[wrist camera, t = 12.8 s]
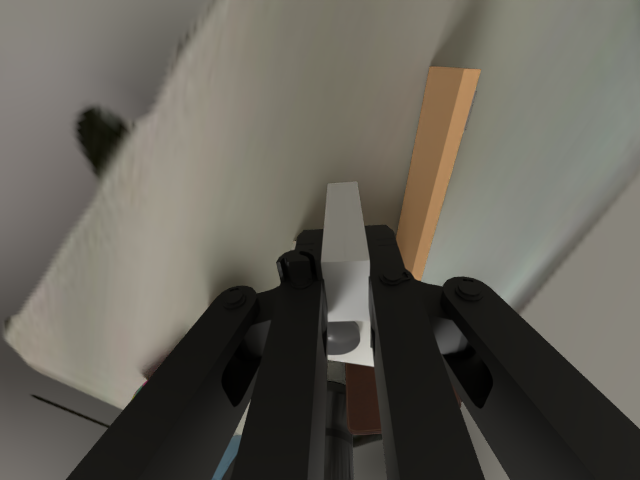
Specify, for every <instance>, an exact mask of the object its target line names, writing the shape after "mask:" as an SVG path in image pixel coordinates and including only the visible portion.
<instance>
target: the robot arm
mask: <svg viewBox="0 0 640 480" xmlns="http://www.w3.org/2000/svg"><path fill="white" fill-rule="evenodd" d="M276 264H277V268H278V272H279V276H280V281H281V284H280V286H278V287H276V288H274V289H271V290H269V291H265V292H261V293H258V294H256V292H255V291H254V289H253V288H251V287H248V286H236V287H232V288H229V289H227V290H225V291H224V292H222V293H221V294H220V295H219V296H218V297H217V298H216V299H215V300H214V301H213V302H212V304H211V305H210V306H209V307H208V308H207V310H206V311H205V312H204V313H203V315H202V316H201V317H200V318H199V319H198V321H197V322H196V323H195V324H194V325H193V327H192V328H191V329H190V330H189V331H188V333H187V334H186V335H185V336H184V337H183V339H182V340H181V341H180V342H179V344H178V345H177V346H176V347H175V348H174V350H173V351H172V352H171V353H170V354H169V356H168V357H167V358H166V359H165V360H164V362H163V363H162V364H161V365H160V366H159V368H158V369H157V370H156V371H155V372H154V374H153V375H152V376H151V377H150V379H149V380H148V381H147V382H146V383H145V385H144V386H143V387H142V388H141V389H140V391H139V392H138V393H137V394H136V395H135V397H134V398H133V399H132V400H131V401H130V403H129V404H128V405H127V406H126V407H125V409H124V410H123V411H122V412H121V414H120V415H119V416H118V417H117V418H116V420H115V421H114V422H113V423H112V424H111V426H110V427H109V428H108V429H107V430H106V432H105V433H104V434H103V435H102V437H101V438H100V439H99V440H98V441H97V443H96V444H95V445H94V446H93V447H92V449H91V450H90V451H89V452H88V454H87V455H86V456H85V457H84V458H83V459H82V461H81V462H80V463H79V464H78V466H77V467H76V468H75V469H74V471H72V473H71V474H70V475H69V477H68V478H67V479H66V480H354V466H353V441H352V436H353V434H351V433H350V432H349V430H348V428H347V414H346V386H345V385H342V384H339V383H334V382H327V362H328V328H327V317H328V322H335V321H370V348H372V352H373V361H374V370H375V378H376V387H377V395H378V404H379V413H380V421H381V430H382V439H383V446H384V456H385V464H386V473H387V480H485V478H484V475H483V473H482V470H481V467H480V464H479V461H478V458H477V455H476V453H475V450H474V447H473V444H472V441H471V438H470V435H469V433H468V430H467V427H466V424H465V422H464V418H463V415H462V413H461V410H460V407H459V404H458V401H457V398H456V395H455V393H454V390H453V387H454V388H455V390H456V392H457V393H458V395H459V397H460V398H461V400H462V401H463V403H464V405H465V406H466V408H467V409H468V411H469V413H470V415H471V416H472V418H473V420H474V421H475V422H476V424H477V426H478V428H479V429H480V431H481V433H482V434H483V436H484V437H485V439H486V441H487V443H488V444H489V446H490V447H491V449H492V451H493V452H494V454H495V456H496V457H497V459H498V460H499V462H500V464H501V465H502V467H503V469H504V470H505V472H506V474H507V475H508V477H509V479H510V480H640V429H639V428H638V427H637V426H636V425H635V424H634V423H633V422H632V421H631V420H630V419H629V418H628V417H626V416H625V415H624V414H623V413H622V412H621V411H620V410H619V409H618V408H617V407H616V406H615V405H614V404H613V403H612V402H611V401H610V400H609V399H607V398H606V397H605V396H604V395H603V394H602V393H601V392H600V391H599V390H598V389H597V388H596V387H595V386H594V385H593V384H592V383H591V382H589V381H588V380H587V379H586V378H585V377H584V376H583V375H582V374H581V373H580V372H579V371H578V370H577V369H576V368H575V367H574V366H573V365H572V364H570V363H569V362H568V361H567V360H566V359H565V358H564V357H563V356H562V355H561V354H560V353H559V352H558V351H557V350H556V349H555V348H554V347H553V346H551V345H550V344H549V343H548V342H547V341H546V340H545V339H544V338H543V337H542V336H541V335H540V334H539V333H538V332H537V331H536V330H535V329H533V328H532V327H531V326H530V325H529V324H528V323H527V322H526V321H525V320H524V319H523V318H522V317H521V316H520V315H519V314H518V313H517V312H515V311H514V310H513V309H512V308H511V307H510V306H509V305H508V304H507V303H506V302H505V301H504V300H503V299H502V298H501V297H500V296H499V295H498V294H496V293H495V292H494V291H493V290H492V289H491V288H490V287H489V286H487V285H486V284H484V283H483V282H481V281H479V280H476V279H474V278H469V277H453V278H451V279H448V280H447V281H446V282H445V283H444V284H443V287H442V286H437V285H432V284H427V283H423V282H421V281H418V280H416V279H415V278H414V276H413V275H412V273H411V272H410V271H408V270H407V269H406V268H405V265H404V262H403V259H402V256H401V253H400V250H399V247H398V244H397V241H396V238H395V235H394V232H393V230H392V229H390V228H389V227H388V226H387V225H372V226H364V221H363V215H362V209H361V202H360V196H359V190H358V184H357V181H355V182H341V183H328V186H327V197H326V209H325V220H324V229H316V230H303V232H302V233H301V234H300V235H299V236H298V237H297V241H296V246H295V250H291V251H289V252H286V253H284V254H283V255H282V256H280V257H279V258H278V260H277V262H276ZM451 383H452V384H451ZM452 385H453V387H452ZM250 399H251V401H250ZM249 402H250V405H249V409H248V413H247V417H246V421H245V425H244V428H243V432H242V435H235V436H233V434H234V432H235V430H236V428H237V426H238V424H239V422H240V420H241V418H242V416H243V414H244V412H245V410H246V408H247V406H248V404H249Z"/></svg>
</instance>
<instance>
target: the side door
mask: <svg viewBox="0 0 640 480" xmlns="http://www.w3.org/2000/svg"><path fill="white" fill-rule="evenodd" d="M480 72H481V69H469V68H455V67H430V68H429V73H428V78H427V83H426V88H425V93H424V98H423V103H422V108H421V114H420V119H419V124H418V129H417V134H416V139H415V144H414V149H413V154H412V159H411V165H410V170H409V175H408V180H407V185H406V190H405V195H404V200H403V205H402V210H401V216H400V221H399V226H398V231H397V236H396V241H397V244H398V247H399V250H400V253H401V256H402V259H403V262H404V265H405V268H406V269H407V270H408V271H410V272H411V273H412V275H413V276H414V278H415V279H416V280H418V281H421V278H422V274H423V271H424V267H425V264H426V260H427V257H428V253H429V250H430V246H431V243H432V239H433V236H434V232H435V229H436V225H437V222H438V218H439V215H440V211H441V208H442V204H443V201H444V197H445V194H446V190H447V187H448V183H449V180H450V176H451V173H452V169H453V166H454V162H455V159H456V155H457V152H458V148H459V145H460V141H461V138H462V134H463V131H465V130H466V127H467V123H468V120H469V116H470V113H471V109H472V106H473V103H474V99H475V96H476V92H477V91H475V89H476V86H477V82H478V79H479V75H480Z"/></svg>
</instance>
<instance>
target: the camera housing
mask: <svg viewBox="0 0 640 480" xmlns="http://www.w3.org/2000/svg"><path fill="white" fill-rule="evenodd" d="M295 246H296V241H293V244H292V248H291V250H295ZM327 328H328V360H333V361H340V362H347V363H353V364H360V365H366V366H373V367H374V361H373V352H372V348H370V321H335V322H328V317H327Z"/></svg>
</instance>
